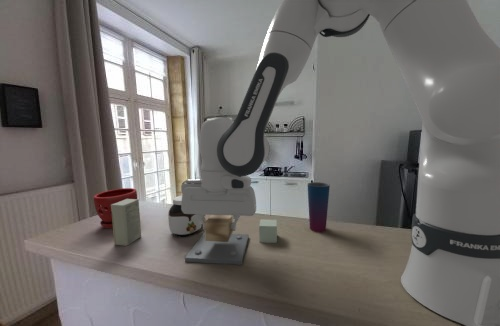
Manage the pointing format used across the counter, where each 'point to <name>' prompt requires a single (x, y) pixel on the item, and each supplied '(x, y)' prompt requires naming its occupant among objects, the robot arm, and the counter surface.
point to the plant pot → (110, 198)
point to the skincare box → (126, 221)
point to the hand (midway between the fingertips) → (219, 229)
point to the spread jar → (182, 220)
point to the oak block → (218, 228)
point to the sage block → (268, 231)
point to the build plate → (219, 250)
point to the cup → (318, 205)
